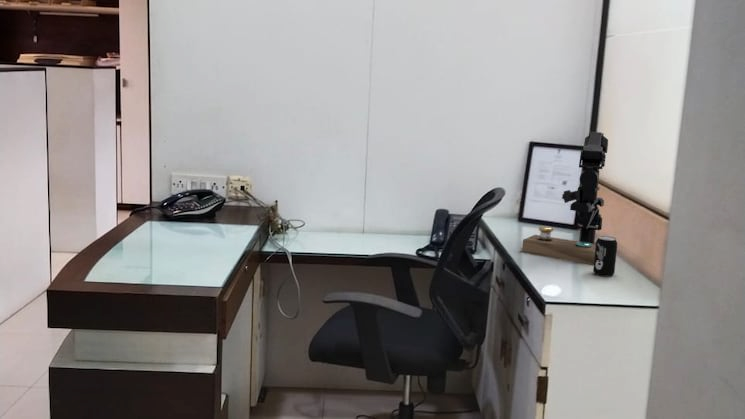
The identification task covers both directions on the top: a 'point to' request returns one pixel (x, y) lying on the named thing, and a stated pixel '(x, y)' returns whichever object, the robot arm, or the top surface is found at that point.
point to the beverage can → (605, 256)
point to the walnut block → (559, 249)
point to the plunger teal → (583, 244)
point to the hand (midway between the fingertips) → (585, 228)
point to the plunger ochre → (545, 233)
